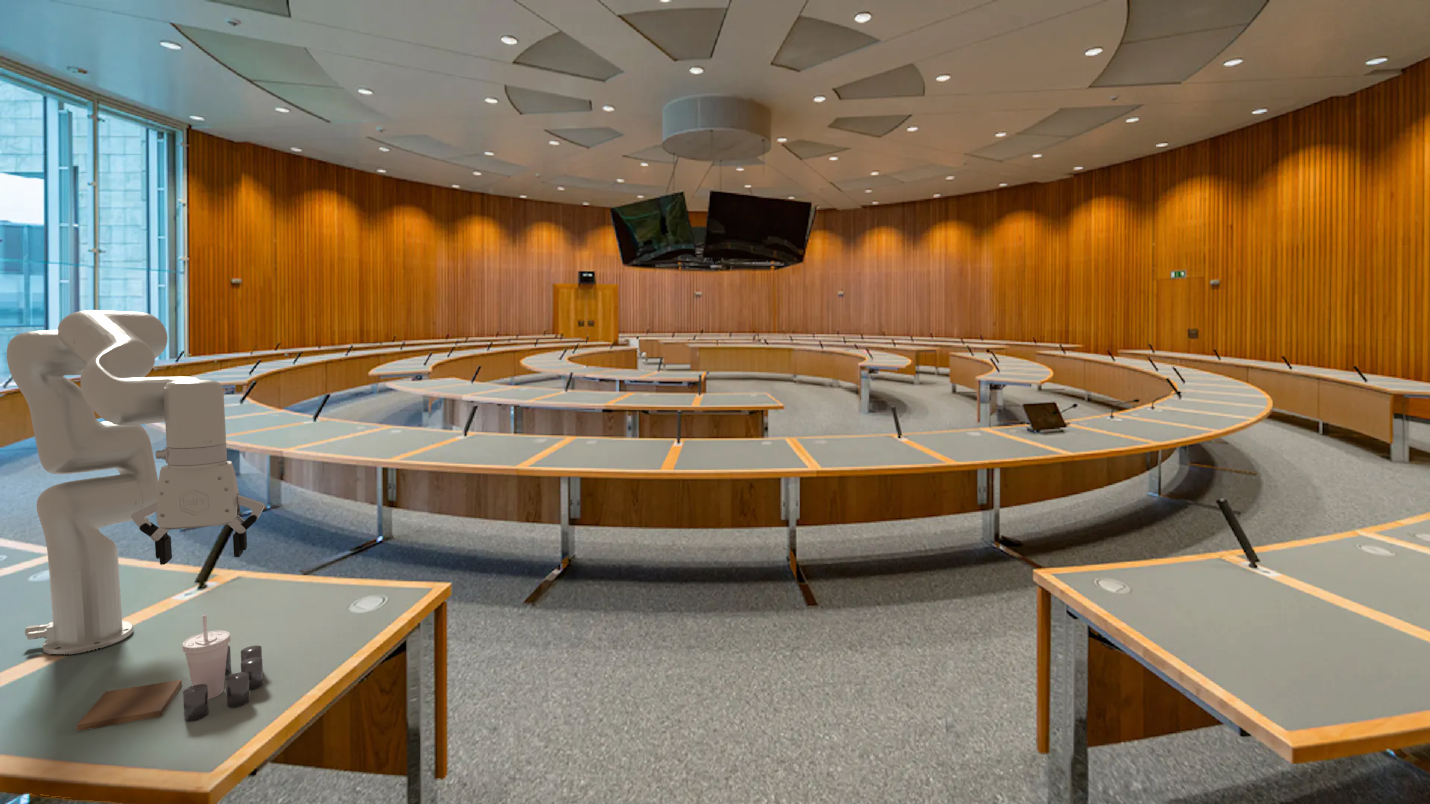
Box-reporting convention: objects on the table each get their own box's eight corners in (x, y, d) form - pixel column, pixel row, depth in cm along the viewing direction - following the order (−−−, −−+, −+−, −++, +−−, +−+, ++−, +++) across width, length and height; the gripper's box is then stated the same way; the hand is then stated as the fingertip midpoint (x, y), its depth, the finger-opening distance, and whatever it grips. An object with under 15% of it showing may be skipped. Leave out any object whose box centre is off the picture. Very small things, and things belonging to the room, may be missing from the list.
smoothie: (179, 708, 103) (175, 625, 102) (190, 688, 109) (186, 609, 108) (229, 699, 106) (225, 618, 105) (236, 680, 112) (233, 603, 111)
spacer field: (181, 723, 99) (180, 696, 99) (212, 671, 115) (211, 647, 114) (251, 711, 103) (250, 684, 103) (272, 662, 119) (271, 638, 118)
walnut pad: (77, 731, 97) (76, 725, 97) (105, 697, 106) (105, 691, 106) (161, 716, 101) (160, 710, 101) (181, 685, 110) (181, 679, 110)
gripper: (118, 463, 97) (126, 573, 99) (257, 457, 104) (261, 559, 106) (138, 455, 104) (144, 557, 105) (266, 449, 111) (270, 545, 113)
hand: (203, 558), depth 106 cm, fingers open, 9 cm apart
